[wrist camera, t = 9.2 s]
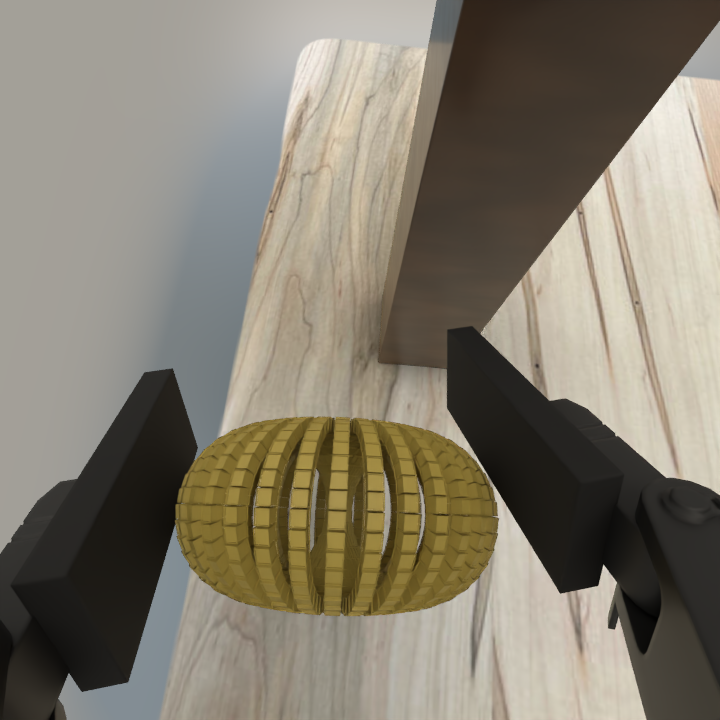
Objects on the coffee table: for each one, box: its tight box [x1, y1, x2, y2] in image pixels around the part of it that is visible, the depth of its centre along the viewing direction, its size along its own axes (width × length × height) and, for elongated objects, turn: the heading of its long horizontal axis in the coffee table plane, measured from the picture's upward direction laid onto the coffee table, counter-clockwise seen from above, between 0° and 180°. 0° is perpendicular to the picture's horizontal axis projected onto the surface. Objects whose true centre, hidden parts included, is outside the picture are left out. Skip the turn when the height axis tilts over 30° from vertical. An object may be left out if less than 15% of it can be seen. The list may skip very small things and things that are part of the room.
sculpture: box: [175, 417, 499, 616], centre depth 12 cm, size 8×4×8 cm, turn 88°
